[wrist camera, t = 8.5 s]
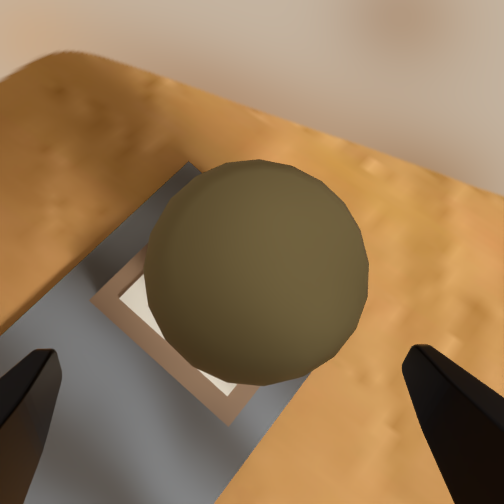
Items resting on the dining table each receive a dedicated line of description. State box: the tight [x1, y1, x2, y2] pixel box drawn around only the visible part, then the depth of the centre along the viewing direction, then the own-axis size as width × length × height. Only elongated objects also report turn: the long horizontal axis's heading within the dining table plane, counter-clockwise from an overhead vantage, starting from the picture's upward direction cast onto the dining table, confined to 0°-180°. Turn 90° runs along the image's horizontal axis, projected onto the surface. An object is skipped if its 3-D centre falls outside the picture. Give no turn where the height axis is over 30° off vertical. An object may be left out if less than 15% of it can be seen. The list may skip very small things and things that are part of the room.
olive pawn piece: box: [143, 159, 369, 386], centre depth 12 cm, size 6×6×11 cm
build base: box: [0, 162, 312, 504], centre depth 17 cm, size 19×14×3 cm
